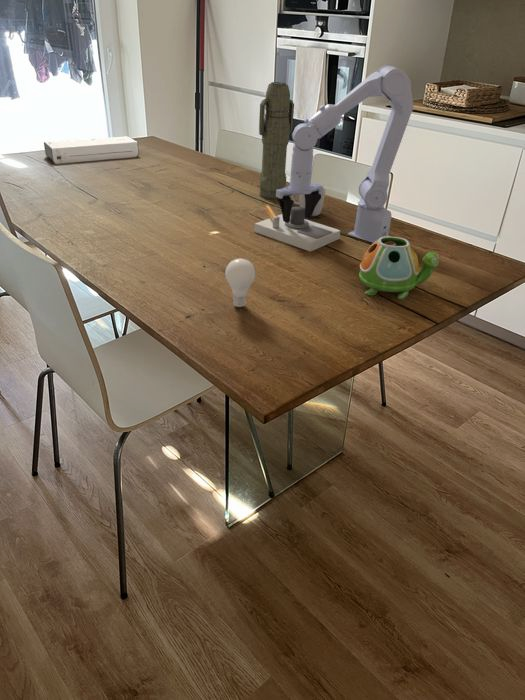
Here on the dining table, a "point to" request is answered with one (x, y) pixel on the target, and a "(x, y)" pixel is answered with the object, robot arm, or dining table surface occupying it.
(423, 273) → the turtle holder
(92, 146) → the laminator
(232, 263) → the lightbulb
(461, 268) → the dining table surface
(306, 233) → the socket board
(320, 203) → the cup
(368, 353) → the dining table surface
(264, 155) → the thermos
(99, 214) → the dining table surface
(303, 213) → the plug
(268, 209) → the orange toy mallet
